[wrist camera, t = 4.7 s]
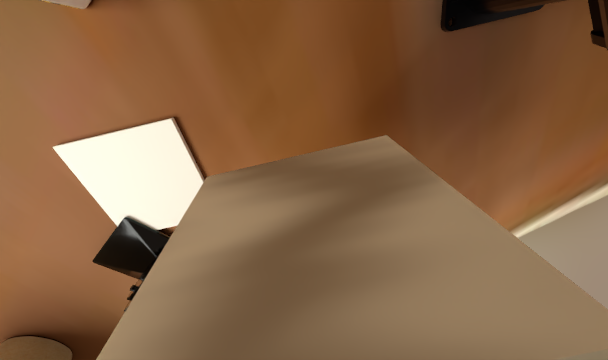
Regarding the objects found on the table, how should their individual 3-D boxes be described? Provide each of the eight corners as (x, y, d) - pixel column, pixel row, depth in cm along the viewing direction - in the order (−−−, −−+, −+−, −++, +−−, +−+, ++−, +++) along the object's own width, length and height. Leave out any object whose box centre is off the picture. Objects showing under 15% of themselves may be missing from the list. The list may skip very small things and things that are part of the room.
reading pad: (173, 117, 17) (171, 118, 16) (221, 213, 21) (220, 215, 21) (57, 145, 17) (52, 147, 16) (128, 233, 21) (126, 236, 21)
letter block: (386, 135, 8) (648, 341, 2) (390, 263, 11) (501, 477, 6) (207, 176, 8) (34, 461, 2) (262, 290, 11) (243, 524, 6)
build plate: (244, 270, 25) (236, 315, 21) (207, 303, 27) (193, 349, 23) (128, 212, 20) (88, 254, 16) (95, 258, 22) (51, 305, 18)
